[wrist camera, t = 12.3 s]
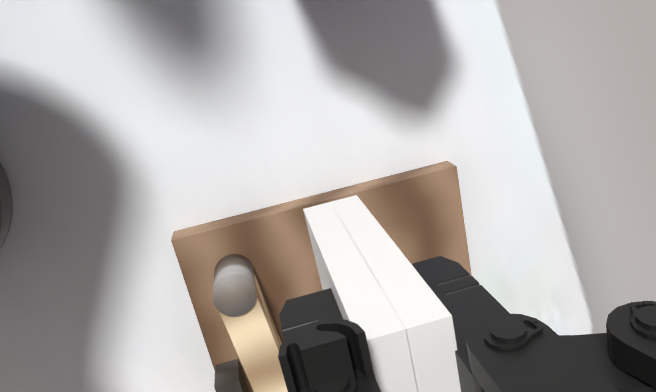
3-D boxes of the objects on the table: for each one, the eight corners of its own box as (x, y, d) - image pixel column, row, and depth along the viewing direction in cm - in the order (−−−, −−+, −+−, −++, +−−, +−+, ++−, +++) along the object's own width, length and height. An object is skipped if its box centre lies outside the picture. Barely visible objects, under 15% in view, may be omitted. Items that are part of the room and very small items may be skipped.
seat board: (237, 423, 50) (237, 463, 45) (173, 231, 44) (167, 255, 39) (474, 351, 53) (498, 383, 48) (447, 160, 46) (471, 175, 42)
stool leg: (208, 262, 43) (206, 286, 39) (246, 248, 43) (247, 271, 39) (273, 414, 48) (277, 450, 44) (306, 402, 48) (313, 436, 44)
